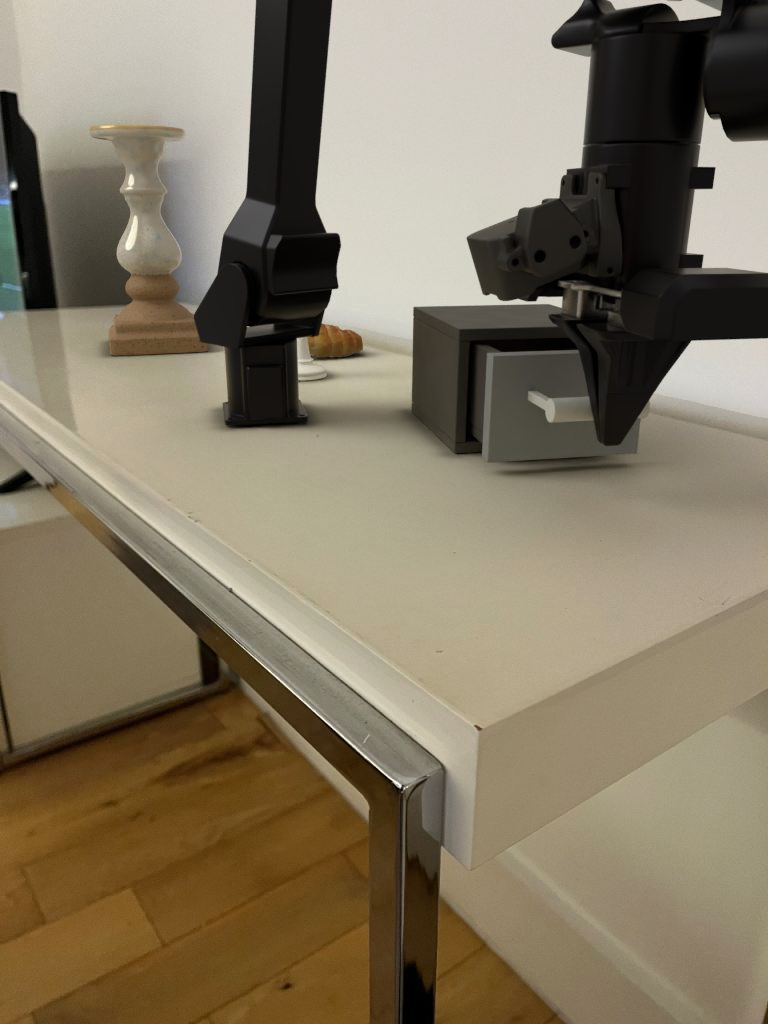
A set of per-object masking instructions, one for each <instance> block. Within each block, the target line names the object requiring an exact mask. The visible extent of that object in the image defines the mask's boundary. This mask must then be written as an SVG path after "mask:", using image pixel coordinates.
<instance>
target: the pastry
mask: <svg viewBox="0 0 768 1024" xmlns="http://www.w3.org/2000/svg"><path fill="white" fill-rule="evenodd" d="M307 339H308V346H309V352H310V356H313V357H314V358H325V357H330V358H331V359H333V358H336V357H337V358H338V359H339V358H341V357H345V358H346V357H348V356H352V355H353V354H361V352H362V351H364V343H363V337H362V335H360V334H359V333H357V332H355V331H354V330H352V329H341V328H340V327H339V325H333V324H328V323H322V324H321V328H320V332H319V335H318V336H316V337H307Z"/></svg>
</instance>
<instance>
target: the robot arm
mask: <svg viewBox="0 0 768 1024" xmlns="http://www.w3.org/2000/svg"><path fill="white" fill-rule="evenodd" d="M666 1H668V2H681V1H683V0H666ZM695 1H696V2H698V3H701V4H703V5H705V6H708V7H710V8H712V9H715V10H717V11H718V12H720V15H716V16H715V15H714V16H707V17H699V18H692V19H691V18H690V19H684V20H683V19H682V20H680V19H679V17H678V15H677V13H676V12H675V10H674V9H673V7H671V6H670V5H668V4H667V3H663V2H658V3H652V4H646V5H638V6H633V7H632V6H631V7H625V8H620V9H616V8H615V6H614V5H613V3H612V2H611V1H610V0H583V1H582V3H581V5H580V6H579V8H578V9H577V10H576V11H575V13H574V14H572V15H571V16H570V17H569V18H568V19H566V20H565V21H564V22H563V24H561V26H560V27H558V29H557V30H555V32H554V33H553V34H552V36H551V39H550V43H551V47H552V48H553V49H555V50H559V51H562V52H567V53H571V54H574V55H578V56H582V57H586V58H590V60H589V70H588V71H589V72H588V82H587V93H586V94H587V95H586V105H585V106H586V107H585V117H584V131H583V142H582V143H583V144H582V152H581V165H580V167H576V168H566V174H564V175H563V176H562V177H561V179H560V184H559V185H560V186H559V188H560V189H559V196H558V197H553V198H549V197H547V198H544V199H542V200H541V203H540V204H538V205H535V206H530V207H529V206H525V207H524V206H523V207H521V208H519V210H518V212H517V214H516V215H515V216H513V217H510V218H507V219H505V220H502V221H500V222H497V223H495V224H492V225H489V226H487V227H485V228H482V229H479V230H477V231H474V232H473V233H470V234H469V235H467V236H466V242H467V245H468V248H469V252H470V256H471V259H472V262H473V266H474V269H475V273H476V276H477V280H478V284H479V287H480V290H481V293H482V295H483V296H486V297H487V296H490V295H494V296H496V298H497V300H499V301H500V302H501V301H502V302H511V301H515V300H520V301H523V302H527V303H528V302H537V301H538V298H541V297H543V298H562V299H561V300H562V301H561V308H562V311H561V313H556V314H549V315H548V316H549V319H550V320H551V322H552V323H553V324H556V325H557V326H558V327H559V328H560V329H561V330H562V331H563V332H564V333H565V334H566V335H567V336H568V337H569V338H570V339H571V340H572V341H573V342H574V343H575V344H576V346H577V348H578V351H579V354H580V358H581V362H582V366H583V370H584V375H585V380H586V384H587V390H588V395H589V400H590V405H591V410H592V415H593V420H594V425H595V430H596V435H597V440H598V442H600V443H601V444H603V445H605V446H617V445H620V444H621V443H622V442H623V440H624V439H625V437H626V435H627V434H628V432H629V431H630V429H631V428H632V426H633V425H634V423H635V421H636V420H637V418H638V417H639V415H640V414H641V412H642V411H643V409H644V407H645V406H646V404H647V403H648V401H650V400H651V398H652V396H654V393H655V392H656V391H657V389H658V388H659V386H660V385H661V383H662V382H663V380H664V379H665V377H666V376H667V375H668V373H669V372H670V371H671V369H672V368H673V367H674V365H675V364H676V362H677V361H678V360H679V358H680V357H681V356H682V354H684V352H685V350H686V349H687V348H688V346H689V345H690V344H691V343H692V342H693V341H696V342H697V341H726V340H728V341H729V340H758V339H764V340H765V339H768V272H764V271H757V270H756V271H755V270H748V269H747V270H746V269H739V268H731V267H703V264H704V257H705V256H704V254H703V253H693V252H692V253H691V252H688V246H689V245H688V244H689V238H690V229H691V222H692V216H693V215H692V214H693V208H694V207H693V206H694V199H695V192H696V191H695V190H714V182H715V176H716V168H717V167H716V166H699V160H700V153H701V144H702V137H703V129H704V122H705V113H706V114H707V115H708V117H709V118H710V119H711V120H713V121H717V120H720V123H721V127H722V130H723V132H724V134H725V136H726V138H727V139H729V140H730V141H731V142H733V143H742V142H764V141H765V142H768V0H695ZM332 9H333V0H255V10H254V11H255V12H254V13H255V14H254V31H253V32H254V33H253V50H252V51H253V53H252V57H253V58H252V71H251V94H250V112H249V113H250V115H249V135H248V153H247V155H248V156H247V157H248V158H247V175H246V191H245V197H244V199H243V201H242V203H241V204H240V206H239V208H238V209H237V211H236V212H235V214H234V216H233V217H232V218H231V221H230V222H229V224H228V225H227V228H225V230H224V232H223V234H222V235H223V236H222V240H221V246H220V254H219V258H218V259H219V260H218V267H217V274H216V276H215V278H214V279H213V281H212V283H211V285H210V286H209V288H208V289H207V291H206V293H205V295H204V297H203V298H202V300H201V301H200V303H199V304H198V306H197V309H196V310H195V312H194V313H193V314H194V321H195V325H196V328H197V332H198V335H199V339H200V341H201V342H202V343H207V345H213V346H219V347H223V348H224V359H225V361H224V362H225V376H226V393H227V401H224V402H222V413H223V421H224V425H225V426H248V425H249V426H250V425H270V424H291V423H305V422H308V421H309V414H308V413H307V411H306V409H305V406H304V405H303V403H302V401H301V400H300V394H299V381H298V358H297V338H302V337H316V336H318V335H319V332H320V328H321V324H323V320H324V315H325V311H326V309H327V308H328V306H329V304H330V302H331V297H332V294H333V290H338V289H339V288H340V287H339V279H338V262H339V256H340V254H341V253H340V252H341V248H342V241H341V236H340V234H339V233H338V232H327V229H326V227H325V225H324V223H323V220H322V218H321V215H320V213H319V210H318V208H317V199H316V197H317V187H318V185H317V184H318V177H319V176H318V175H319V164H320V163H319V160H320V152H321V139H322V128H323V118H324V117H323V115H324V105H325V95H326V81H327V69H328V59H329V57H328V56H329V45H330V33H331V21H332V12H333V11H332Z"/></svg>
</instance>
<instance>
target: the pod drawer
mask: <svg viewBox="0 0 768 1024" xmlns="http://www.w3.org/2000/svg"><path fill="white" fill-rule="evenodd" d="M650 410H651V402H650V400H649V401H648V403H647V404H646V406H645V407H644V409H643V411H642V412H641V414H640V415H639V417H638V418H637V420H636V421H635V423H634V425H633V426H632V428H631V429H630V431H629V432H628V434H627V435H626V437H625V439H624V440H623V442H622V443H621V444H620V445H617V446H605V445H603V444H601V443H600V442H598V440H597V435H596V430H595V425H594V420H593V415H592V410H591V405H590V400H589V395H588V390H587V384H586V380H585V375H584V370H583V366H582V362H581V358H580V354H579V351H578V348H577V346H576V344H575V343H574V342H573V341H572V340H571V339H570V338H548V339H514V340H479V341H470V349H469V373H468V397H467V421H466V430H467V431H468V432H469V433H470V434H472V435H473V436H474V437H475V438H476V439H478V440H479V441H480V442H481V443H482V444H483V445H482V452H481V458H482V459H483V460H484V461H485V462H486V463H501V462H503V463H504V462H519V461H520V462H521V461H534V460H536V461H537V460H554V459H569V458H570V459H571V458H584V457H585V458H586V457H588V458H589V457H601V456H602V457H603V456H619V455H621V456H622V455H636V454H637V453H638V446H639V437H640V428H641V421H642V419H645V418H647V417H648V415H649V414H650Z"/></svg>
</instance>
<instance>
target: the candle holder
mask: <svg viewBox="0 0 768 1024" xmlns="http://www.w3.org/2000/svg"><path fill="white" fill-rule="evenodd" d="M89 134H90V136H91V138H92V139H93V138H94V139H97V140H103V141H110V142H111V143H112V145H113V148H114V151H115V153H116V155H117V156H118V157H119V158H120V160H121V161H122V164H123V165H124V169H125V176H124V180H123V183H122V184H121V186H120V188H119V193H120V194H121V195H123V197H124V201H125V202H126V203H127V206H128V208H129V210H130V211H129V212H130V213H129V214H130V215H129V219H128V221H127V225H126V227H125V229H124V231H123V233H122V235H121V237H120V239H119V241H118V244H117V247H116V259H117V261H118V264H119V265H120V266H121V267H122V269H123V270H125V271H126V272H128V273H130V277H129V279H127V281H126V283H125V293H126V294H127V295H128V296H129V297H130V298H131V299H132V301H131V302H130V303H128V304H127V305H126V306H125V307H124V308H123V309H121V311H120V312H119V313H118V314H115V315H114V316H113V324H112V325H110V326H109V328H108V344H109V345H108V346H109V354H110V356H140V355H141V356H143V355H162V354H163V355H164V354H183V353H186V354H187V353H200V352H201V353H202V352H203V353H204V352H208V349H209V348H208V344H207V343H202V342H201V341H200V339H199V335H198V332H197V328H196V325H195V321H194V314H195V313H193V312H191V311H189V309H188V308H186V307H185V306H184V305H183V304H181V303H179V302H178V301H176V300H175V297H176V296H177V295H178V294H179V292H180V284H179V283H178V281H177V280H176V279H175V278H174V277H173V275H172V273H173V272H174V271H176V270H177V268H178V267H179V266H180V264H181V263H182V258H183V256H182V255H183V253H182V249H181V246H180V245H179V243H178V241H177V239H176V238H175V236H174V235H173V233H172V232H171V230H170V229H169V227H168V225H167V224H166V223H165V221H164V217H163V216H162V212H161V208H162V204H163V202H164V197H165V195H167V194H168V189H167V187H165V185H164V184H163V182H162V180H161V178H160V175H159V163H160V160H161V159H162V157H163V156H164V153H165V148H166V144H167V143H170V142H171V143H172V142H180V141H183V140H185V138H186V130H185V129H183V128H180V127H175V126H166V125H153V124H152V125H150V124H101V125H99V124H98V125H93V126H90V127H89Z"/></svg>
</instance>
